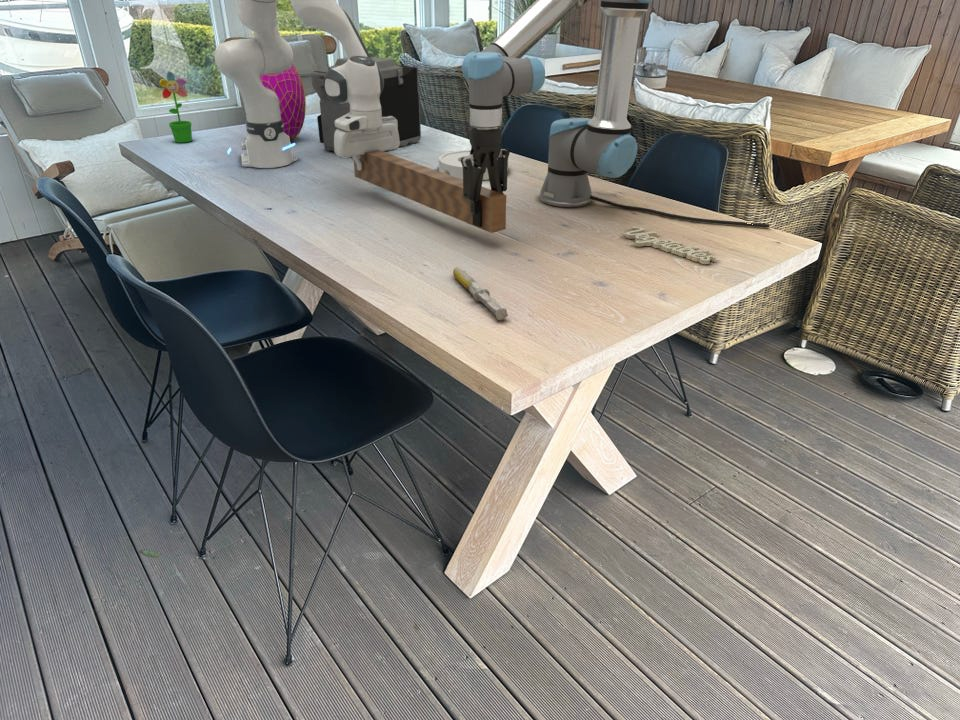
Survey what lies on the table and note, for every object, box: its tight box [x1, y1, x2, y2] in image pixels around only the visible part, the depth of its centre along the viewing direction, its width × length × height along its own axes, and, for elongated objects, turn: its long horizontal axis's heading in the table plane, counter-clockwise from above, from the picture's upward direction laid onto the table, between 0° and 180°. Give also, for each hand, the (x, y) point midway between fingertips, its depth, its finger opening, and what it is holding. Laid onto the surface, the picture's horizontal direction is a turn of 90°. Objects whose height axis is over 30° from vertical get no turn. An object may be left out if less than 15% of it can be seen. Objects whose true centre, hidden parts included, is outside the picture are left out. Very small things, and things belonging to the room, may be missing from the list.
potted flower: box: [158, 70, 193, 144], centre depth 255 cm, size 9×8×25 cm
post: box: [352, 150, 507, 234], centre depth 184 cm, size 61×5×8 cm, turn 41°
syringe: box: [452, 266, 509, 321], centre depth 145 cm, size 25×4×3 cm, turn 21°
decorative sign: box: [624, 226, 717, 265], centre depth 170 cm, size 26×1×10 cm
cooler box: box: [310, 56, 422, 153], centre depth 250 cm, size 37×22×30 cm, turn 144°
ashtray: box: [438, 149, 509, 181], centre depth 229 cm, size 23×23×4 cm
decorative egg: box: [260, 63, 307, 141], centre depth 257 cm, size 19×19×30 cm
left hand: (369, 168), depth 201 cm, fingers closed on post, 4 cm apart
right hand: (485, 223), depth 170 cm, fingers closed on post, 5 cm apart
